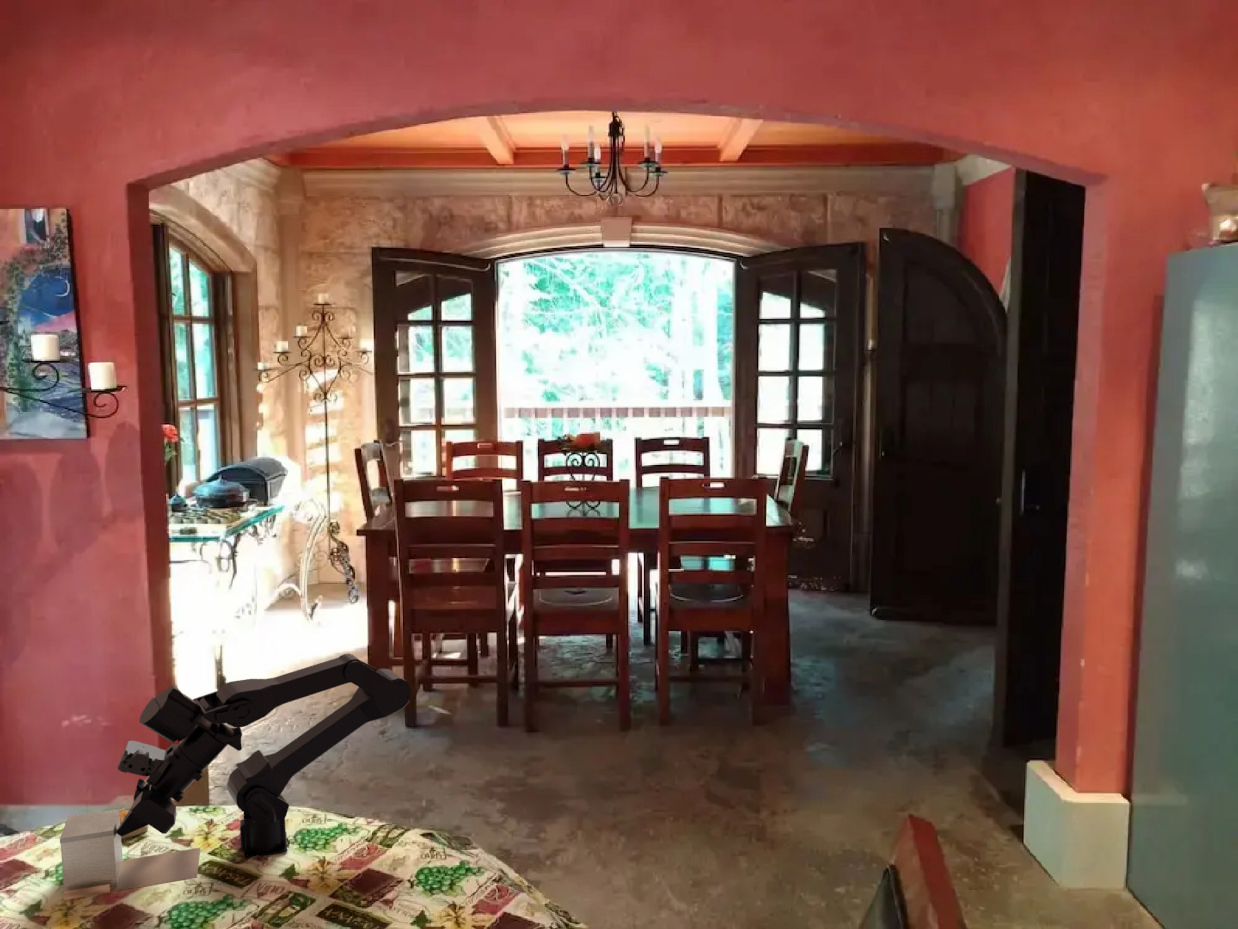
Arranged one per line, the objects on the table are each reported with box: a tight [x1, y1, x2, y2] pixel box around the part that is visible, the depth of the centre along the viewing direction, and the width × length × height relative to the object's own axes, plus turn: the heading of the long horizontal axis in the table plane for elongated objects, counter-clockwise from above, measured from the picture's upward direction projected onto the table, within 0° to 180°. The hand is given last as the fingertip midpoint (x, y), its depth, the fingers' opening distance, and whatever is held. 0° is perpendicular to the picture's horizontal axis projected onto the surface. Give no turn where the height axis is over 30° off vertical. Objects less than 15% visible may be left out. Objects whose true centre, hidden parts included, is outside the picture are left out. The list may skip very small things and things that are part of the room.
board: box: [63, 847, 201, 901], centre depth 152 cm, size 18×9×1 cm, turn 110°
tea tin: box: [59, 808, 124, 893], centre depth 149 cm, size 7×7×9 cm
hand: (119, 834), depth 150 cm, fingers closed, pressing on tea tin
